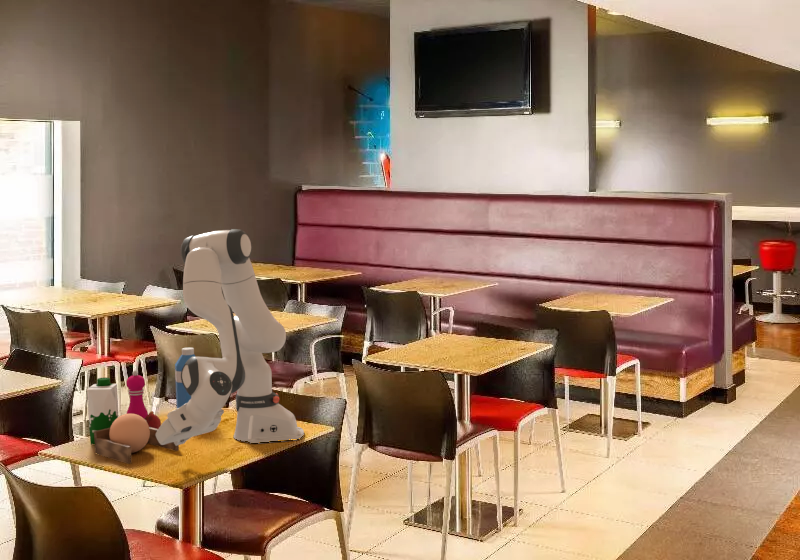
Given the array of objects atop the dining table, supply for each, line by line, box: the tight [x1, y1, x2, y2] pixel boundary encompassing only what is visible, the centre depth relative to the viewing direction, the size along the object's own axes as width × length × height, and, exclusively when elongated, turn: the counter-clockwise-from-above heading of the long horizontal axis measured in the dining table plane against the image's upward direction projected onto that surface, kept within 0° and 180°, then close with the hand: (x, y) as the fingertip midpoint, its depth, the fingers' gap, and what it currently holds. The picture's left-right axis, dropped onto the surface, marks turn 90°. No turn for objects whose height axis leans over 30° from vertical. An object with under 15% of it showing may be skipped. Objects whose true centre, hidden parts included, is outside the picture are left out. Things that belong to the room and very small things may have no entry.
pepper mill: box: [125, 370, 149, 418], centre depth 345 cm, size 7×7×20 cm
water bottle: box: [174, 347, 197, 409], centre depth 357 cm, size 9×9×25 cm
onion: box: [144, 410, 162, 429], centre depth 338 cm, size 6×6×8 cm
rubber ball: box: [109, 413, 150, 454], centre depth 318 cm, size 12×12×12 cm
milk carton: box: [86, 377, 120, 445], centre depth 331 cm, size 9×9×20 cm
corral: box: [94, 420, 180, 464], centre depth 319 cm, size 17×18×7 cm
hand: (178, 442), depth 305 cm, fingers closed
